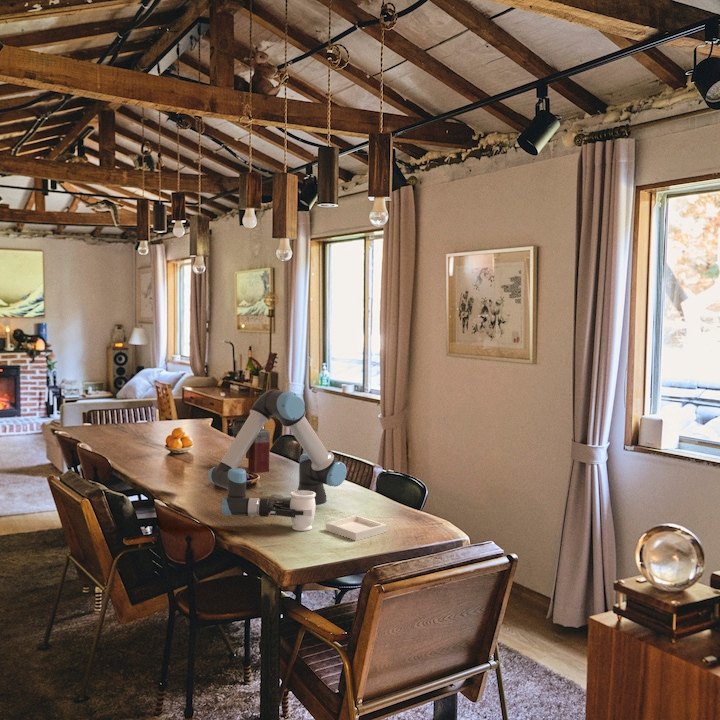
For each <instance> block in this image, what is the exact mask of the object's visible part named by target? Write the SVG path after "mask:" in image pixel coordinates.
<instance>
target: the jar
mask: <svg viewBox="0 0 720 720" xmlns="http://www.w3.org/2000/svg"><path fill="white" fill-rule="evenodd" d="M315 496H316V493H315V492H313V491H307V490H298V491H297V490H294V491H291V492H290V497H291V498H290V500H291V502H290V509H295V510H296V509H312V516H296V515H295V518H293V517H290V518H291V523H292V526H291V528H292V529H293V530H294V531H297V532H298V531H299V532H307V531H310V530H312V529H313V525H312V523H314V520H315V519H314V518H315V514H316V505H317V504H316V505H315V498H314V497H315Z"/></svg>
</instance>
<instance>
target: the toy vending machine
mask: <svg viewBox="0 0 720 720" xmlns="http://www.w3.org/2000/svg"><path fill="white" fill-rule="evenodd" d="M263 427H264V426H263ZM263 427H262V428H261V430H260V431H259V433H258V435H257V436H256V438H255V440H254V441H253V443H252V444H251V446H250V448H249V449H248V451H247V452H246V454H245V458H246V459H247V460H248V463H247V471H249V472H251V473H254V474H260V473H261V474H262V473H268V472H270V449H271V448H270V447H271V446H270V445H271V444H270V443H271V432H270V431H271V430H268V429H265V428H263Z"/></svg>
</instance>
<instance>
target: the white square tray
mask: <svg viewBox="0 0 720 720" xmlns="http://www.w3.org/2000/svg"><path fill="white" fill-rule="evenodd" d="M325 531H326V532H330V533H332V534H335V535H337V534H338V535H337V536H340V535H341V537H343V536H344V538H346V537H347V538H346V539H348V538H350V539H349V540H351V539H352V540H351V541H354V540H355V541H354V542H357V540H358V541H361V540H360V539H362V540H365V539H368V538H367V537H369V538H371V537H370V536H372V537H375V536H374V535H376V536H378V535H377V534H379V535H382V534H381V533H383V534H385V533H384V532H386V533H387V532H388V524H385V523H383V522H379V521H377V520H374V519H371V518H367V517H365V516H361V515H358V514H356V515H352V516H348V517H343V518H339V519H335V520H331V521H327V522H325ZM364 538H365V539H364Z"/></svg>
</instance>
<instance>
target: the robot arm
mask: <svg viewBox="0 0 720 720" xmlns="http://www.w3.org/2000/svg"><path fill="white" fill-rule="evenodd" d="M305 405H306V404H305V400H304V399H303V397H302V396H300V394H298V393H295V392H292V391H286V390H279V389H269V390H267V391H265V392H264V393H262V394H261V395H260V396H259V397H258V398H257V399H256V401H255V402H254V404H253V405H252V406H251V408H250V410H249V415H248V417H247V418H246V420H245V422H244V423H243V425H242V427H241V429H240V430H239V431H238V432H237V435H236V436H235V438H234V439H233V440H232V443H230V446H229V447H228V449H227V451H226V452H225V454H224V456H223V457H222V459H221V460H220V462H219V464H217V466H213V467H212V468H210V469H209V471H208V473H207V477H208V481H209V482H210V483H212V484H213V485H215V486H219V487H220V488H224V489H226V490H227V496H225V497H223V498H222V502H221V512H222V515H224V516H232V517H251V518H254V517H262V518H263V517H264V518H265V517H266V518H267V517H269V516H277V517H285V518H291V517H293V518H295V515H296V516H312V509H296V510H295V509H290V502H291V499H290V500H274V502H271V500H270V498H267V497H266V498H265V497H263V498H262V497H261V498H260V497H246V495H247V494H246V493H247V480H248V479H247V471H246V470H245V468H241V467H239V465H240V463H242V460H243V459H244V457H246V452H247V451H248V449H249V448H250V446H251V444H252V443H253V441H254V440H255V438H256V436H257V435H258V433H259V431H260V430H261V428H262V427H264V425H265V423H269V421H270V419H272V417H277V419H279V422H280V423H281V425H282V426H283V427H285V428H286V427H287V428H288V429H289V430H290V431H291V433H292V434H293V436H294V438H295V439H296V441H297V442H298V444H299V445H300V447H301V449H303V451H304V452H305V453H302V454H301V455H299V462H298V463H299V467H298V470H299V472H298V473H299V474H298V477H299V478H298V487H297V490H296V491H298V490H307V491H313V492H315V493H316V496H315V497H314V498H315V505H321V504H324V503H326V502H327V494H326V490H325V487H324V485H327V486H329V487H336V488H337V487H338V486H340V485H342V484H343V483H344V482H345V479H346V477H347V471H348V470H347V466H346V464H345V463H344V462H342V461H339V460H338V459H337V458H336V456H335V455H334V453H333V452H331V451H328V450H327V449H326V447H325V445H324V443H322V441H321V439H320V438H319V435H317V433H316V432H315V430H314V428H313V427H312V425H311V424H310V422H309V421H308V419H307V418H306V414H307V413H306V409H305V407H306V406H305ZM262 429H263V428H262Z"/></svg>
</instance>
